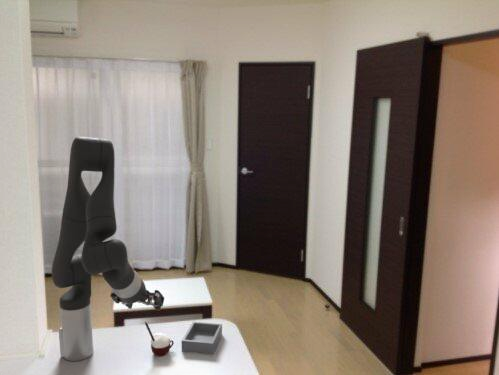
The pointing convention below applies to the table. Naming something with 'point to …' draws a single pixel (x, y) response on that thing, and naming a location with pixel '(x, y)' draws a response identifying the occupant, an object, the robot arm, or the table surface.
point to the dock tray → (202, 338)
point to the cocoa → (159, 343)
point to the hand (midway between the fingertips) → (144, 306)
